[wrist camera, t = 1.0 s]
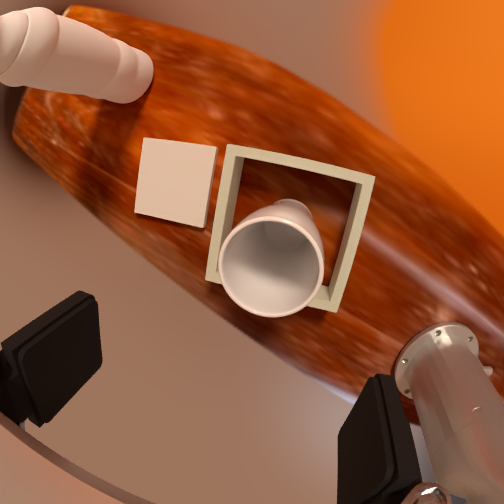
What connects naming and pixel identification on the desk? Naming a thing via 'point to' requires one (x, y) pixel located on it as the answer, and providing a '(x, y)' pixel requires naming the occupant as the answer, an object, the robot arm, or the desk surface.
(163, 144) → the ceramic tile
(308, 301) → the drinking glass
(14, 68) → the water bottle
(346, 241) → the beige square frame
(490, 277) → the desk surface
